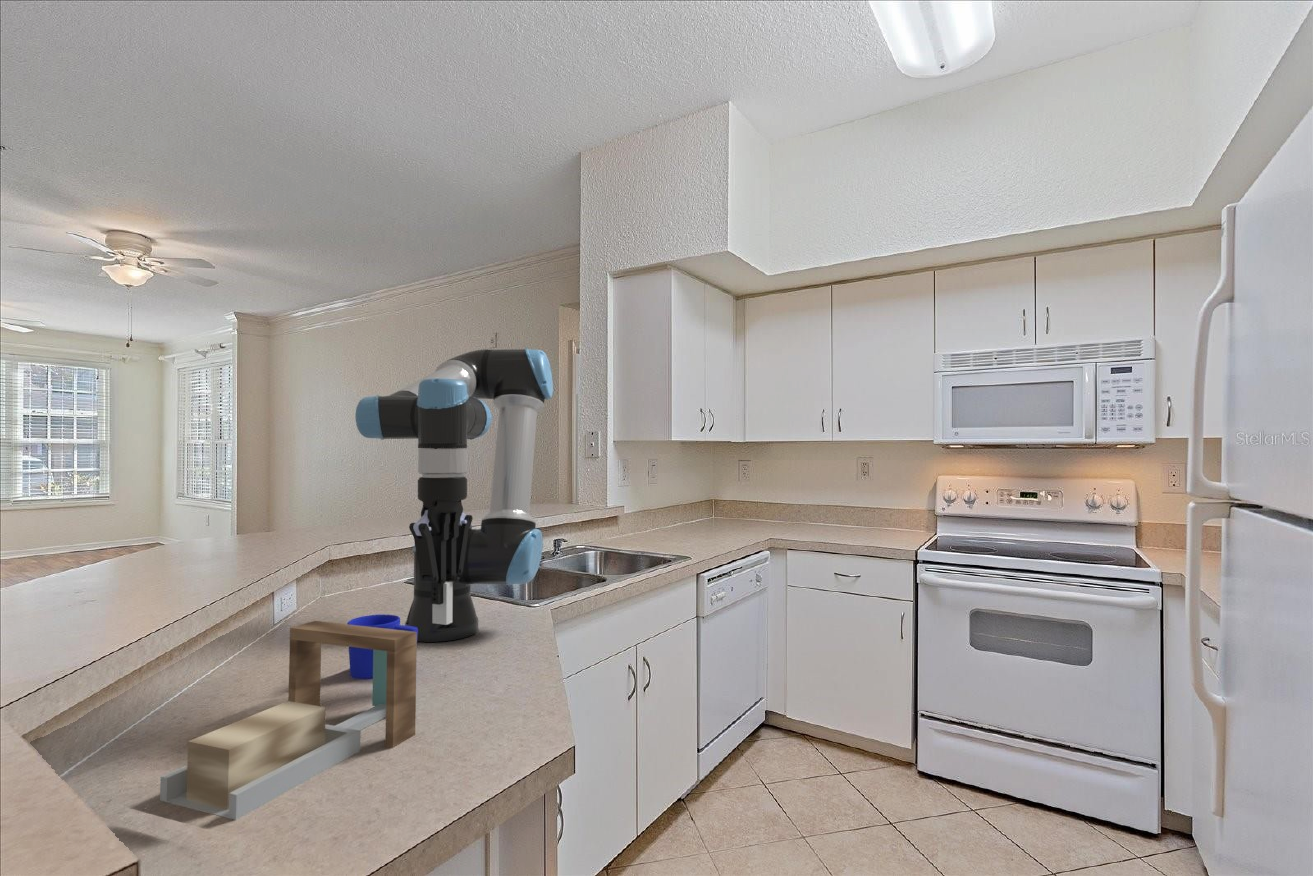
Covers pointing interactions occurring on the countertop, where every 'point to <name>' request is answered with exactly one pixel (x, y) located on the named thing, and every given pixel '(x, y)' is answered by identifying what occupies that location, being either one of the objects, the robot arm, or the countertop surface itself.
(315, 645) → the tunnel
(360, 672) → the mug
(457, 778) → the countertop surface
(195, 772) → the bar
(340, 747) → the sled
